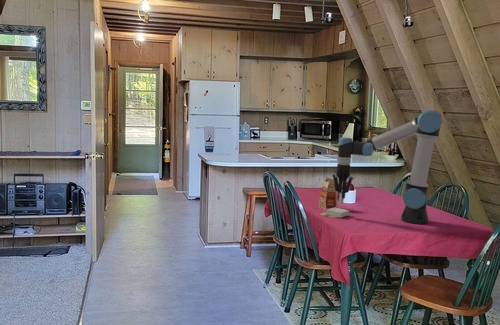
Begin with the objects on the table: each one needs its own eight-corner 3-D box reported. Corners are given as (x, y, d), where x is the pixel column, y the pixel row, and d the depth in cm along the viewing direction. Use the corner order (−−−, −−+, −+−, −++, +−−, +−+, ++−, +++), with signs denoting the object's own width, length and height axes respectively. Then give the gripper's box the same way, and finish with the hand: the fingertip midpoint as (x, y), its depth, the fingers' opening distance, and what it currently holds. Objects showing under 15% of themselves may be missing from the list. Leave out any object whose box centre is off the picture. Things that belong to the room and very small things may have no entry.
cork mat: (348, 214, 288) (348, 214, 288) (336, 218, 277) (336, 218, 277) (330, 211, 296) (330, 210, 296) (318, 214, 285) (318, 214, 285)
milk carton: (325, 209, 299) (327, 178, 296) (317, 206, 307) (319, 175, 305) (337, 209, 302) (340, 177, 300) (330, 206, 311) (332, 175, 308)
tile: (349, 210, 285) (334, 207, 291) (341, 212, 278) (326, 209, 284) (348, 215, 286) (334, 212, 292) (340, 218, 278) (325, 214, 284)
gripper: (357, 164, 278) (354, 204, 282) (337, 162, 287) (334, 201, 290) (350, 165, 273) (347, 206, 276) (330, 163, 281) (328, 202, 284)
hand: (341, 203), depth 283 cm, fingers closed
